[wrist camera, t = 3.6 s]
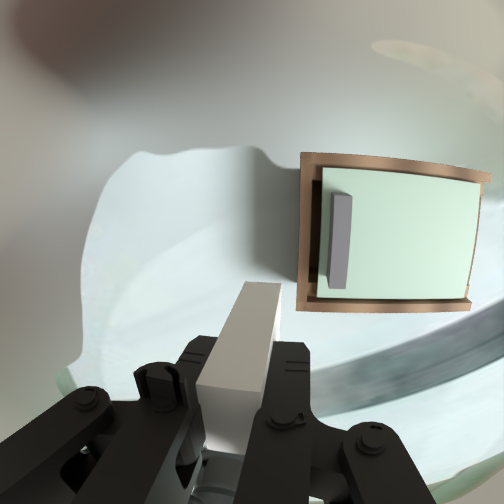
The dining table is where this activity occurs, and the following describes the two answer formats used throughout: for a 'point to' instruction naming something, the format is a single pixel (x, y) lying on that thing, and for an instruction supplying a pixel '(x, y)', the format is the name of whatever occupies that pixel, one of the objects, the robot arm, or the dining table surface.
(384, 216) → the mint green panel
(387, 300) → the box
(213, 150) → the dining table surface
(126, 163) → the dining table surface
